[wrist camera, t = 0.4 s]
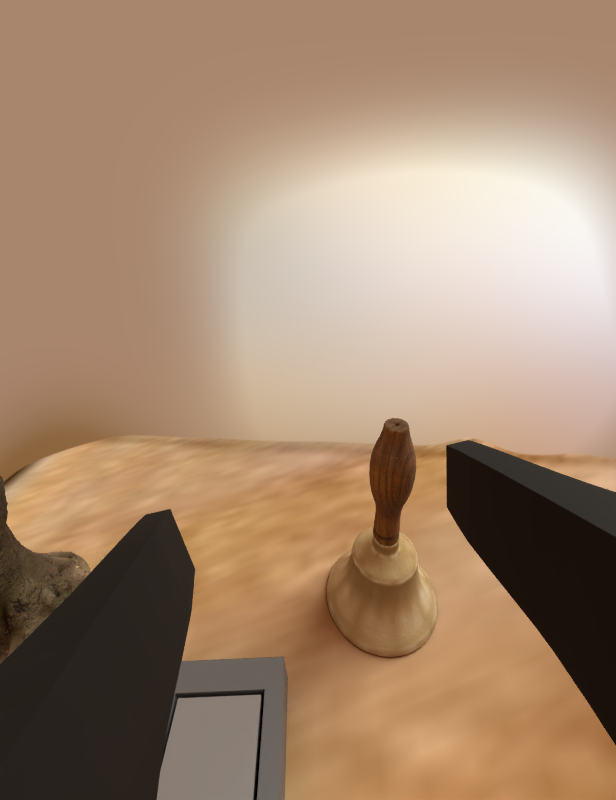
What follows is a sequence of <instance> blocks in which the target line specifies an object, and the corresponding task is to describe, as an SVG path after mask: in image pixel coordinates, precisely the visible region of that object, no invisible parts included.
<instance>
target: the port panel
mask: <svg viewBox="0 0 616 800" xmlns="http://www.w3.org/2000/svg"><path fill="white" fill-rule="evenodd" d="M261 710H263V721H262V735H261V749H260V763H259V777H258V791H257V800H284V796H285V757H286V717H287V672H286V667H285V661H284V657H266V658H244V659H221V660H199V661H181V665H180V670H179V675H178V680H177V684H176V689H175V694H174V699H173V704H172V708H171V713H170V718H169V723H168V728H167V733H166V739H165V744H164V750H163V756H162V762H161V769H160V777H159V785H158V793H157V800H255V789H256V776H257V763H258V749H259V736H260V722H261Z"/></svg>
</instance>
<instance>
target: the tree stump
mask: <svg viewBox="0 0 616 800" xmlns="http://www.w3.org/2000/svg"><path fill="white" fill-rule="evenodd" d="M7 504H8V503H7V501H6V496H5V489H4V483H3V480H2V477H1V476H0V664H1V663H2V662H3V661H4V660H5V659H6V658H7V657H8V656H9V655H10V654H11V653H12V652H13V651H14V650H15V649H16V648H17V647H18V646H19V645H20V644H21V643H22V642H23V641H24V640H25V639H26V638H27V637H28V636H29V635H30V634H31V633H32V632H33V631H34V630H35V629H36V628H37V627H38V626H39V625H40V624H41V623H42V622H43V621H44V620H45V619H46V618H47V617H48V616H49V615H50V614H51V613H52V612H53V611H54V610H55V609H56V608H57V607H58V606H59V605H60V604H61V603H62V602H63V601H64V600H65V599H66V598H67V597H68V596H69V595H70V594H71V593H72V592H73V591H74V590H75V589H76V588H77V587H78V586H79V584H80V583H81V582H82V581H83V580H84V579H85V578H86V577H87V576H88V575H89V574H90V573H91V572H90V568H89V566H88V564H87V562H86V561H85V560H84V559H83V558H81V557H80V556H78V555H76V554H74V553H72V552H51V553H35V552H32V551H30V550H29V549H27V548H25V547H24V546H23V545H21V543H20V542H19V541H18V540H16V538H15V537H14V535H13V533H12V531H11V530H10V529H9V527H8V526H7V524H6V520H7V514H8V511H7Z"/></svg>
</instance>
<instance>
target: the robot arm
mask: <svg viewBox="0 0 616 800" xmlns="http://www.w3.org/2000/svg"><path fill="white" fill-rule="evenodd" d="M446 452H447V508H448V510H449V511H450V513H451V515H452V516H453V518H454V520H455V522H456V523H457V525H458V527H459V528H460V530H461V531H462V533H463V534H464V536H465V538H466V539H467V541H468V542H469V543H470V545H471V546H472V547H473V549H474V550H475V551H476V553H477V554H478V555H479V556H480V558H481V559H482V560H483V561H484V563H485V564H486V565H487V567H488V568H489V569H490V570H491V572H492V573H493V574H494V575H495V577H496V578H497V579H498V580H499V582H500V583H501V584H502V585H503V587H504V588H505V589H506V590H507V592H508V593H509V594H510V595H511V597H512V598H513V599H514V600H515V602H516V603H517V604H518V605H519V607H520V608H521V609H522V610H523V612H524V613H525V614H526V616H527V617H528V618H529V619H530V621H531V622H532V623H533V624H534V626H535V627H536V628H537V629H538V631H539V632H540V634H541V635H542V636H543V638H544V639H545V640H546V642H547V643H548V644H549V646H550V647H551V648H552V650H553V651H554V653H555V654H556V656H557V657H558V659H559V660H560V661H561V663H562V664H563V666H564V667H565V669H566V670H567V672H568V673H569V675H570V676H571V678H572V679H573V681H574V682H575V684H576V685H577V687H578V688H579V690H580V691H581V693H582V694H583V696H584V697H585V699H586V700H587V702H588V703H589V705H590V706H591V708H592V709H593V711H594V712H595V714H596V715H597V717H598V719H599V720H600V722H601V723H602V725H603V726H604V728H605V729H606V731H607V732H608V734H609V736H610V737H611V739H612V740H613V742H614V743H615V745H616V492H613V491H610V490H607V489H604V488H601V487H598V486H595V485H592V484H589V483H586V482H583V481H580V480H577V479H574V478H572V477H569V476H566V475H563V474H560V473H558V472H555V471H552V470H550V469H547V468H544V467H541V466H539V465H536V464H533V463H531V462H528V461H525V460H523V459H520V458H517V457H515V456H512V455H510V454H507V453H504V452H502V451H499V450H496V449H493V448H491V447H488V446H485V445H482V444H479V443H476V442H473V441H469V440H467V441H463V442H459V443H454V444H450V445H446ZM194 575H195V568H194V565H193V563H192V560H191V558H190V556H189V553H188V551H187V548H186V546H185V544H184V541H183V539H182V536H181V534H180V531H179V529H178V527H177V524H176V522H175V519H174V517H173V515H172V512H171V510H170V509H168V510H164V511H160V512H155V513H151V514H147V515H145V516H144V517H143V518H142V519H141V520H139V521H138V522H137V523H136V524H135V526H134V527H133V528H132V529H131V530H130V531H129V532H128V533H127V534H126V535H125V536H124V537H123V538H122V539H121V540H120V541H119V543H118V544H117V545H116V546H115V547H114V548H113V549H112V550H111V551H110V552H109V553H108V554H107V556H106V557H105V558H104V559H103V560H102V561H101V562H100V563H99V564H98V565H97V566H96V567H95V568H94V570H93V571H92V572H91V573H90V574H89V575H88V576H87V577H86V578H85V579H84V580H83V581H82V582H81V583H80V584H79V586H78V587H77V588H76V589H75V590H74V591H73V592H72V593H71V594H70V595H69V596H68V597H67V598H66V599H65V600H64V601H63V602H62V603H61V604H60V605H59V606H58V607H57V608H56V609H55V610H54V611H53V612H52V613H51V614H50V615H49V616H48V617H47V618H46V619H45V620H44V621H43V622H42V623H41V624H40V625H39V626H38V627H37V628H36V629H35V630H34V631H33V632H32V633H31V634H30V635H29V636H28V637H27V638H26V639H25V640H24V641H23V642H22V643H21V644H20V645H19V646H18V647H17V648H16V649H15V650H14V651H13V652H12V653H11V654H10V655H9V656H8V657H7V658H6V659H5V660H4V661H3V662H2V663H1V664H0V800H157V793H158V785H159V777H160V769H161V762H162V756H163V750H164V744H165V739H166V733H167V728H168V723H169V718H170V713H171V708H172V704H173V699H174V694H175V689H176V684H177V680H178V675H179V670H180V665H181V661H182V656H183V651H184V646H185V641H186V636H187V631H188V626H189V621H190V616H191V609H192V599H193V588H194Z"/></svg>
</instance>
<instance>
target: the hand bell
mask: <svg viewBox="0 0 616 800" xmlns="http://www.w3.org/2000/svg"><path fill="white" fill-rule="evenodd" d="M369 473H370V486H371V491H372V495H373V497H374V500H375V503H376V514H375V521H374V527H371V528H369V529H366V530H365V531H363V532H362V533H360V534H359V536H358V537H357V538H356V540H355V542H354V544H353V547H352V549H351V550H350V551H348V552H347V553H345V554H344V555H343V556H342V557H341V558H339V560H338V561H337V562H336V563H335V565H334V566H333V568H332V570H331V572H330V575H329V577H328V582H327V589H326V593H327V603H328V608H329V611H330V614H331V616H332V618H333V621H334V622H335V624H336V625H337V627H338V629H339V630H340V631H341V632H342V634H343V635H344V636H345V637H346V638H347V639H348V640H349V641H350V642H352V643H353V644H354V645H356V646H357V647H359V648H361V649H362V650H364V651H366V652H369V653H372V654H375V655H378V656H383V657H396V656H402V655H407V654H409V653H411V652H413V651H415V650H417V649H418V648H420V647H421V646H422V645H423V644H424V643H425V642H426V641H427V640H428V638H429V637H430V636H431V634H432V632H433V629H434V627H435V624H436V620H437V614H438V609H437V598H436V594H435V591H434V588H433V585H432V583H431V581H430V579H429V578H428V576H427V575H426V573H425V572H424V570H423V569H422V568H421V566H420V565H419V564H418V556H417V553H416V550H415V547H414V546H413V544H412V542H411V541H410V540H409V539H408V538H407V537H406V536H405V535H404V534H403V533H401V532H400V531H399V530H400V515H401V510H402V507H403V505H404V504H405V502H406V501H407V499H408V497H409V496H410V493H411V491H412V487H413V484H414V480H415V473H416V456H415V452H414V448H413V444H412V441H411V437H410V432H409V425H408V423H407V422H406V421H404V420H402V419H398V418H392V419H389V420H387V421H386V422H385V423H384V427H383V430H382V432H381V435H380V437H379V438H378V440H377V442H376V444H375V446H374V449H373V452H372V455H371V460H370V472H369Z"/></svg>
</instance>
